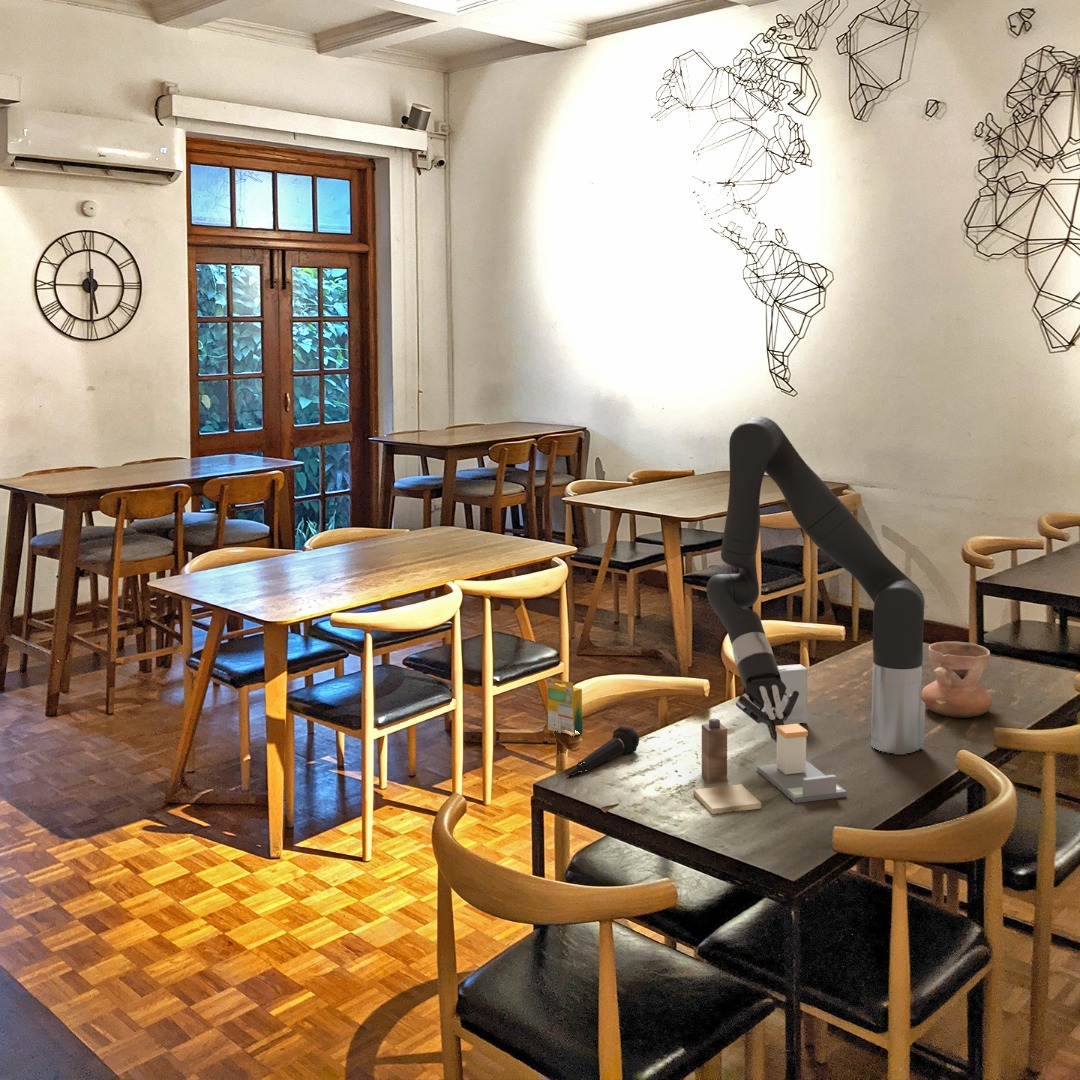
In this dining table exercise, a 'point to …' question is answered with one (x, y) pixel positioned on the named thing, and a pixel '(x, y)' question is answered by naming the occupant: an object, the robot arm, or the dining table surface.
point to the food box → (564, 706)
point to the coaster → (727, 799)
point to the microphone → (610, 749)
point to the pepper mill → (714, 751)
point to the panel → (803, 783)
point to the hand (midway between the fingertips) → (780, 740)
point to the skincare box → (795, 681)
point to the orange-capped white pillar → (791, 748)
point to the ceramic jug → (957, 680)
